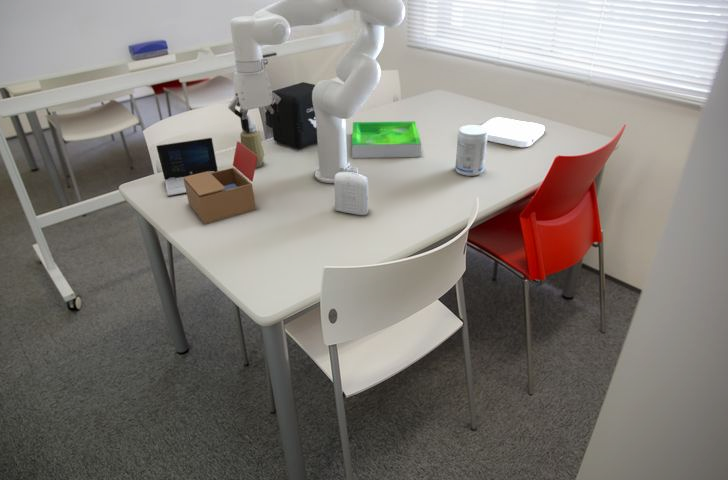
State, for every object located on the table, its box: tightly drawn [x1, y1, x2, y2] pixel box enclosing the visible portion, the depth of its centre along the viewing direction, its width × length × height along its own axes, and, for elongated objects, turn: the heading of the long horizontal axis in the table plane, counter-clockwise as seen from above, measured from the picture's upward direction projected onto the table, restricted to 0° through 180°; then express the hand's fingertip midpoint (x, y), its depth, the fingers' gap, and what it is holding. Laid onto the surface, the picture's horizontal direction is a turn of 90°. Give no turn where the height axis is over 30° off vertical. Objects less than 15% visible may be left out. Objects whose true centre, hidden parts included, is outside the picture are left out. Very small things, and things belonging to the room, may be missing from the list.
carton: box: [182, 166, 257, 225], centre depth 154 cm, size 16×15×9 cm
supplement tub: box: [454, 124, 488, 177], centre depth 171 cm, size 10×10×15 cm
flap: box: [232, 140, 258, 183], centre depth 154 cm, size 8×15×1 cm
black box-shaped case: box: [271, 81, 318, 151], centre depth 197 cm, size 20×15×20 cm
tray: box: [351, 120, 422, 159], centre depth 196 cm, size 25×25×5 cm
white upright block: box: [333, 172, 369, 216], centre depth 149 cm, size 10×4×12 cm, turn 69°
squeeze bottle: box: [239, 114, 265, 169], centre depth 178 cm, size 8×8×18 cm
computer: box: [481, 116, 546, 148], centre depth 202 cm, size 22×22×3 cm
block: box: [220, 184, 237, 192], centre depth 156 cm, size 5×5×5 cm
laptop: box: [156, 137, 219, 196], centre depth 167 cm, size 18×12×13 cm
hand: (258, 128), depth 151 cm, fingers open, 6 cm apart
